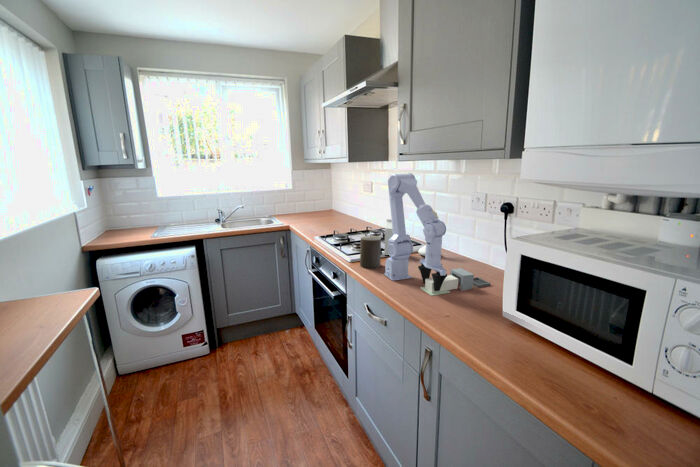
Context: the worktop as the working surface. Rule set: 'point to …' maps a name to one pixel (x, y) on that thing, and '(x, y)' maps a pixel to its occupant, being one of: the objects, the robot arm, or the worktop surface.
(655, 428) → the worktop surface
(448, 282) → the long ivory beam
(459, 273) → the tunnel
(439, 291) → the pad
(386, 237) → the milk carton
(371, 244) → the pillar candle
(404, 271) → the robot arm
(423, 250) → the flower in vase
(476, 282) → the tray
